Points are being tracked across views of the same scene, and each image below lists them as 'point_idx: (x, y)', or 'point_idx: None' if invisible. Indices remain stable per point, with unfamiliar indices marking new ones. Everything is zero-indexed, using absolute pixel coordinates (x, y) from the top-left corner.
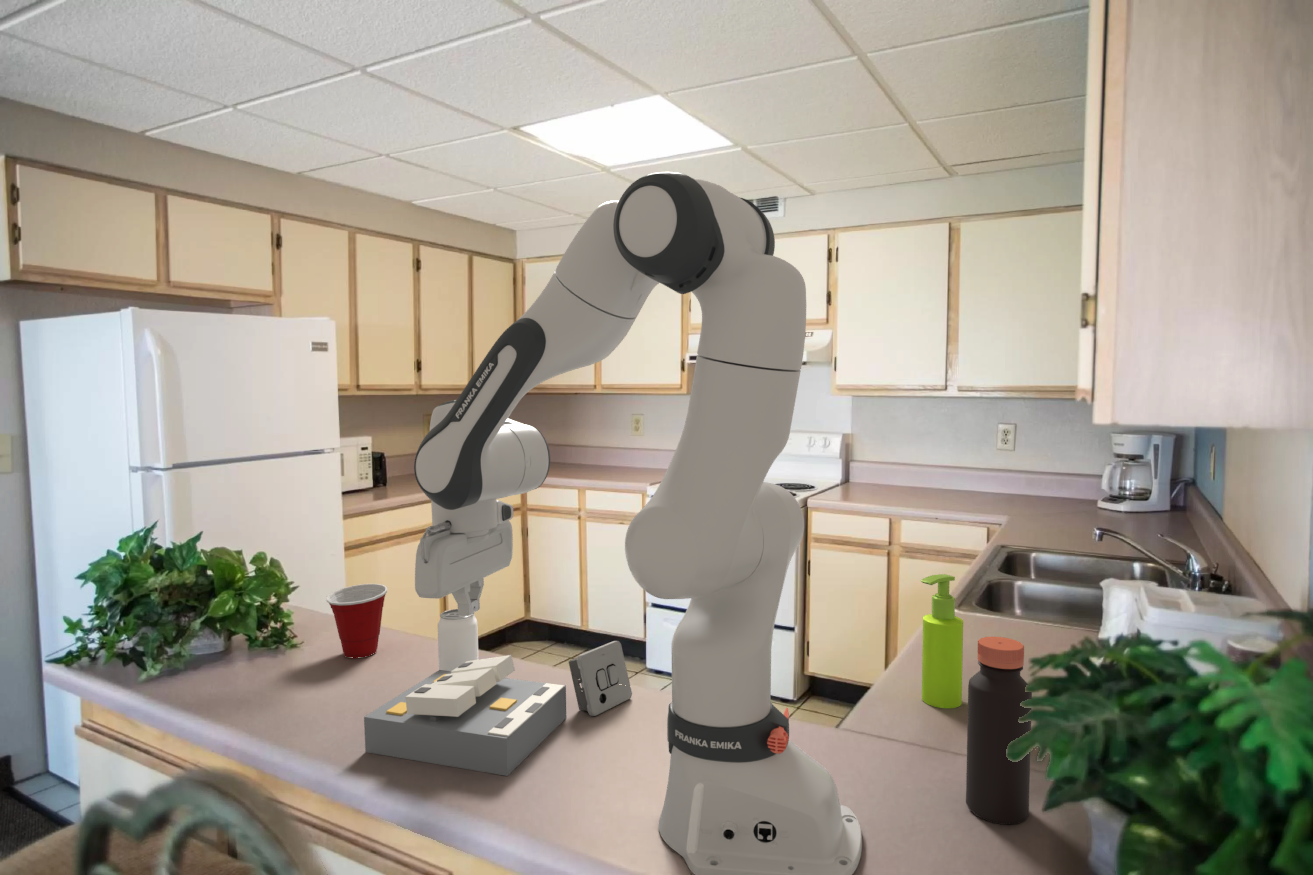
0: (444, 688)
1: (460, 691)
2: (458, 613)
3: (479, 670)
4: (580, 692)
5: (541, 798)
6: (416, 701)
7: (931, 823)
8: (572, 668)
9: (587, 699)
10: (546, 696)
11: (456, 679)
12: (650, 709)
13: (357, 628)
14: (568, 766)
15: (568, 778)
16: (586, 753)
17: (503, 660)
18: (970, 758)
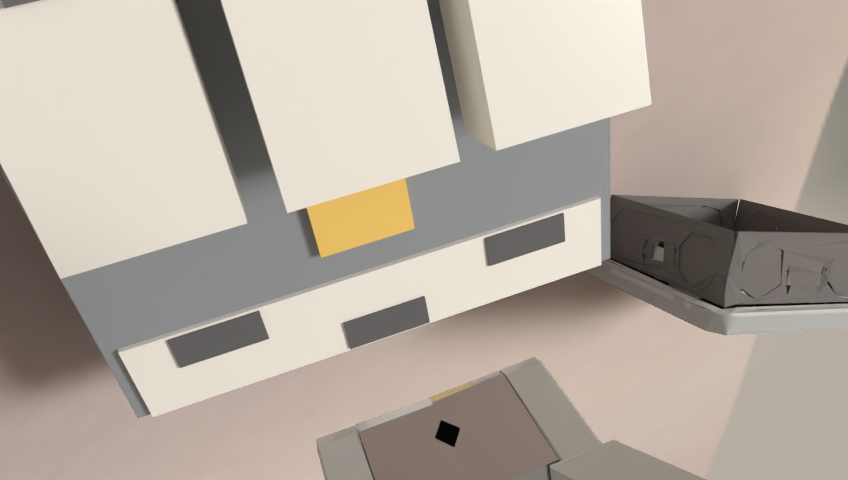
0: (137, 80)
1: (153, 212)
2: (318, 446)
3: (428, 86)
4: (643, 233)
5: (114, 466)
6: None
7: None
8: (709, 239)
9: (611, 271)
10: (490, 286)
11: (286, 29)
12: (667, 338)
13: None
14: (293, 401)
15: (241, 441)
16: (379, 386)
17: (571, 127)
18: None
